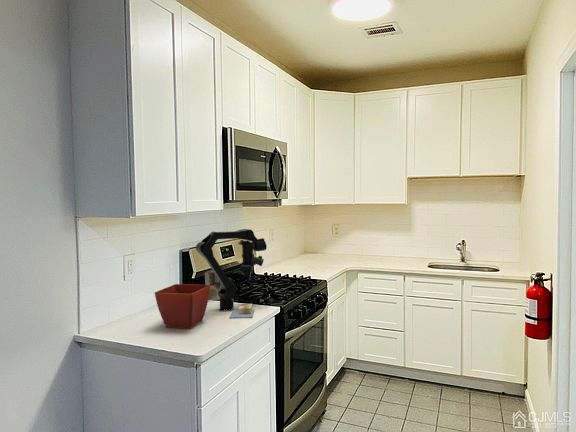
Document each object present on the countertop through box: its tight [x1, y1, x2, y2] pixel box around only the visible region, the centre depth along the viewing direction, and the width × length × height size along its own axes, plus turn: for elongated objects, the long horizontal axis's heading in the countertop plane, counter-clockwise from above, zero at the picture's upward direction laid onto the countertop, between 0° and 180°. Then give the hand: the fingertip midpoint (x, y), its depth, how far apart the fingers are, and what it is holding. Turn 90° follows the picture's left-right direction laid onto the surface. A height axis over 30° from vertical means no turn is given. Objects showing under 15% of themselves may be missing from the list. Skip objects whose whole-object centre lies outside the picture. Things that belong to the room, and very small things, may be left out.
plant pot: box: [154, 283, 210, 329], centre depth 196 cm, size 19×19×17 cm
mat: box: [229, 309, 255, 319], centre depth 210 cm, size 11×12×1 cm
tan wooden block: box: [238, 303, 254, 314], centre depth 213 cm, size 6×3×9 cm
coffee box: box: [204, 270, 221, 301], centre depth 242 cm, size 9×6×16 cm
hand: (248, 281), depth 227 cm, fingers closed
